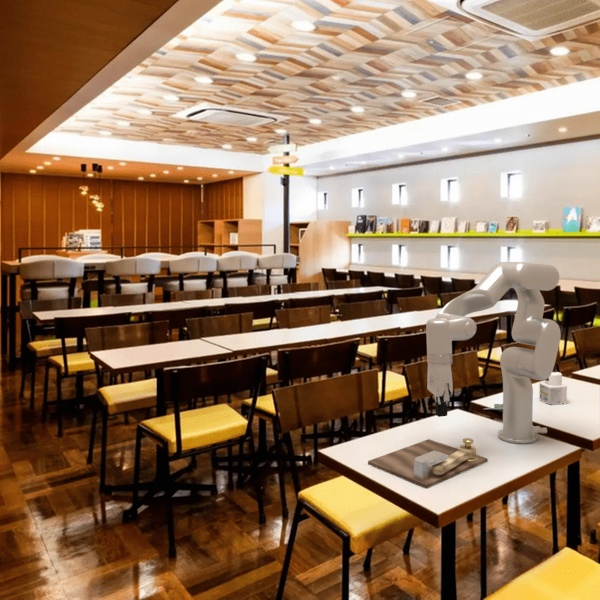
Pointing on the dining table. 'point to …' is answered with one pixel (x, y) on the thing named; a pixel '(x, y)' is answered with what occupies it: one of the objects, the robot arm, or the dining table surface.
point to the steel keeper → (427, 463)
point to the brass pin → (468, 445)
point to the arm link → (454, 459)
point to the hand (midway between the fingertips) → (441, 415)
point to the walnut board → (404, 458)
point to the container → (553, 389)
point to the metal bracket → (496, 406)
